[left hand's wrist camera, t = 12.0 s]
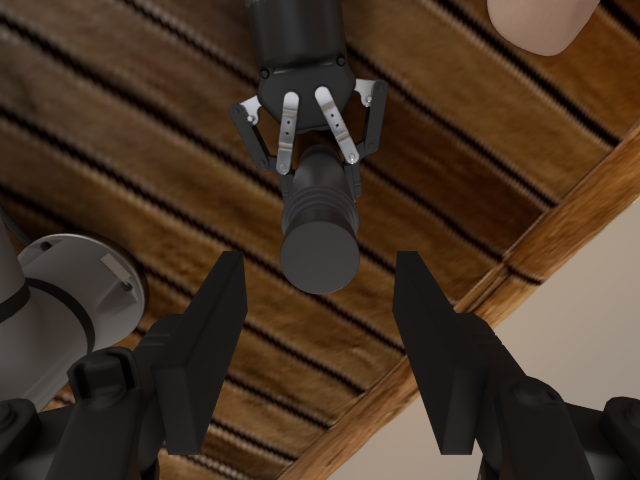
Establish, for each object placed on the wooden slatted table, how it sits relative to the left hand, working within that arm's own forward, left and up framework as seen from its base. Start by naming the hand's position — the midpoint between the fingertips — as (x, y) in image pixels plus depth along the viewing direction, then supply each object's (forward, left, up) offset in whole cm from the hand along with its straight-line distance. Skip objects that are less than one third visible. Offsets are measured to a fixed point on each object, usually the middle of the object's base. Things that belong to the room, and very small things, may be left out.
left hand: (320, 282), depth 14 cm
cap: (0, 0, -3) cm, 3 cm away
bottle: (0, 0, -27) cm, 27 cm away
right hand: (+2, -2, -21) cm, 21 cm away
